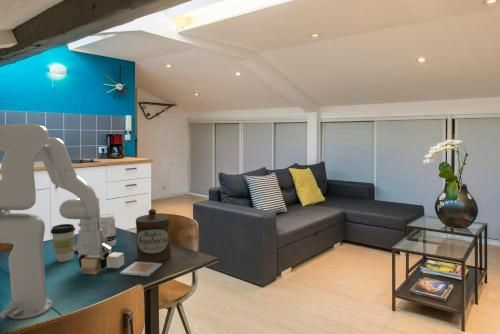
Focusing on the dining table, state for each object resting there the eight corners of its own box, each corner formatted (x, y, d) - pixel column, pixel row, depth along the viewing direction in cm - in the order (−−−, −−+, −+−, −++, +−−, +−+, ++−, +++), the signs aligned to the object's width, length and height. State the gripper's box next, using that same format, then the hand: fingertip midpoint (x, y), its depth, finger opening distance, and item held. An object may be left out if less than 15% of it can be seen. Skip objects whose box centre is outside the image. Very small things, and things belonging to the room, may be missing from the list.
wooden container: (135, 264, 160) (133, 213, 157) (139, 252, 174) (136, 206, 172) (171, 261, 162) (169, 212, 160) (171, 250, 177) (169, 204, 174)
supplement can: (98, 244, 187) (96, 215, 185) (115, 242, 190) (113, 213, 189) (99, 249, 180) (97, 218, 178) (117, 246, 183) (115, 216, 181)
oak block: (95, 274, 149) (94, 260, 148) (81, 273, 150) (81, 259, 149) (104, 268, 155) (103, 255, 154) (91, 268, 156) (90, 254, 155)
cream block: (117, 268, 155) (117, 256, 154) (107, 267, 156) (106, 256, 155) (124, 264, 160) (123, 252, 159) (113, 263, 161) (113, 252, 160)
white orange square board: (148, 276, 146) (148, 274, 146) (120, 274, 149) (120, 271, 149) (161, 265, 158) (161, 263, 158) (135, 263, 160) (135, 261, 160)
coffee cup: (47, 260, 164) (45, 227, 163) (67, 254, 173) (65, 222, 171) (62, 264, 160) (59, 230, 158) (81, 257, 168) (79, 225, 167)
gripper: (65, 227, 148) (68, 269, 150) (104, 230, 145) (106, 272, 147) (77, 222, 156) (80, 262, 158) (115, 224, 152) (117, 265, 154)
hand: (93, 267), depth 152 cm, fingers open, 9 cm apart
